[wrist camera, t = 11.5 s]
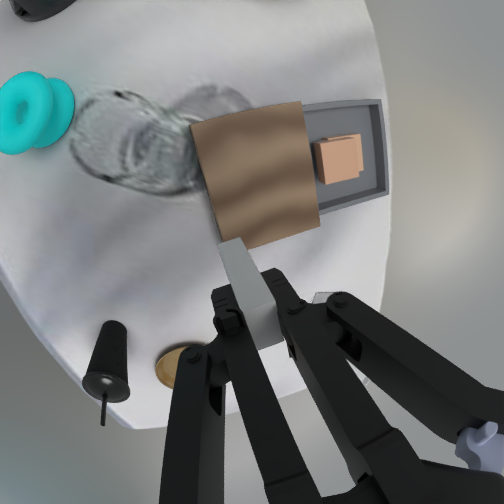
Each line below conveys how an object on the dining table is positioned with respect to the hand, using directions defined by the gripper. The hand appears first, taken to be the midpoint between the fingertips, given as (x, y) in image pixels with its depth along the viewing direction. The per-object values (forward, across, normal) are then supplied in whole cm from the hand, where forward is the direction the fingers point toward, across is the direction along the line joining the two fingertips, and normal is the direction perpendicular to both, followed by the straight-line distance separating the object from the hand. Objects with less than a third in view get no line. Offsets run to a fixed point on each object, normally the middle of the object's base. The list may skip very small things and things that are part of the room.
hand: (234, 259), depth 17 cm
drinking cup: (+22, -24, -20) cm, 38 cm away
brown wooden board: (+22, +7, -1) cm, 24 cm away
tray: (+22, +22, -1) cm, 32 cm away
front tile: (+18, +19, -1) cm, 26 cm away
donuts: (+23, -18, +18) cm, 35 cm away
